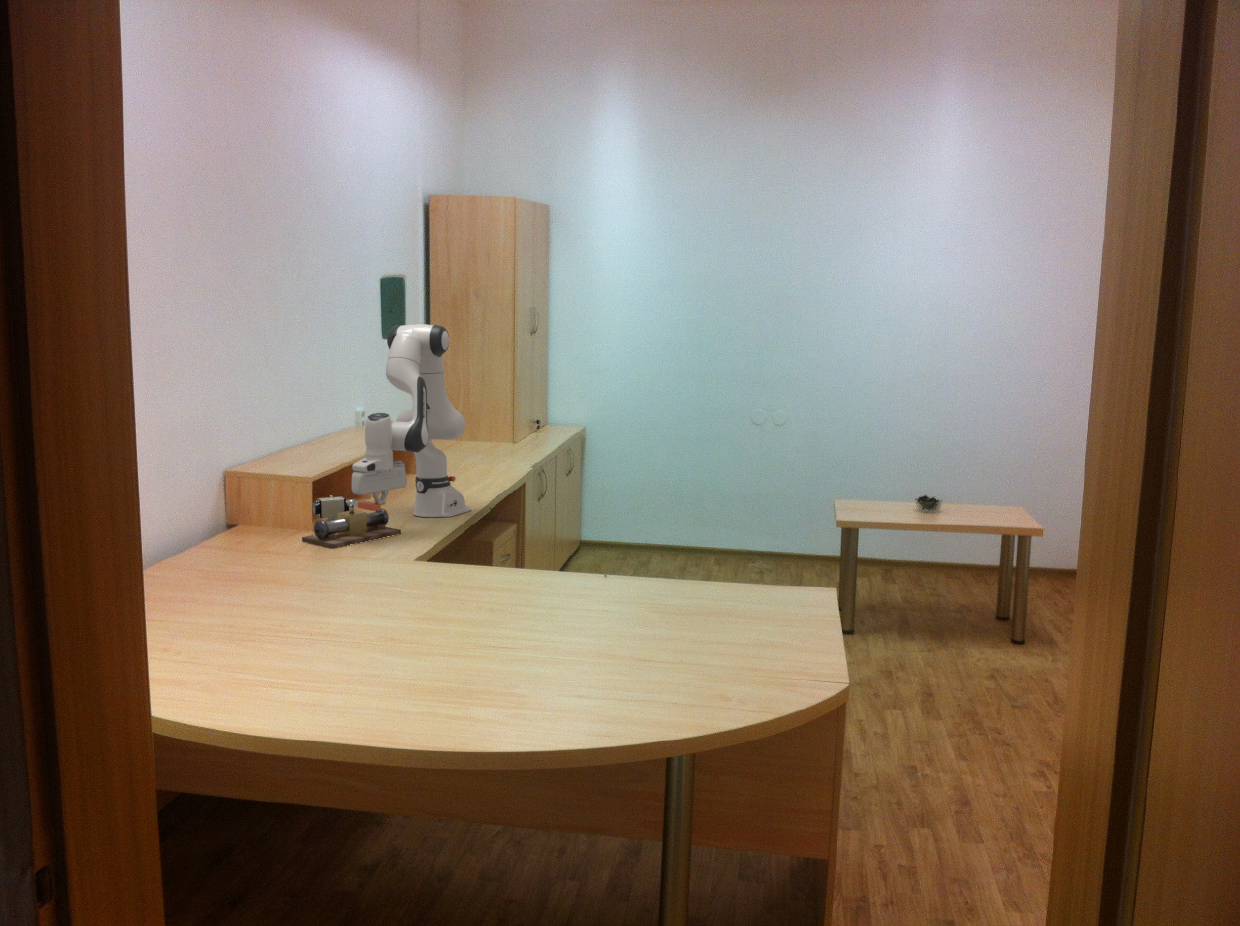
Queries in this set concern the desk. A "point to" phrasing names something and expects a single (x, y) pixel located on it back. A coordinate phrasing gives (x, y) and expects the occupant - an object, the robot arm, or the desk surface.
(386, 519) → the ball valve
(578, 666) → the desk surface
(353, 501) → the valve lever
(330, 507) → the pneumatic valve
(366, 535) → the dark brown base board
